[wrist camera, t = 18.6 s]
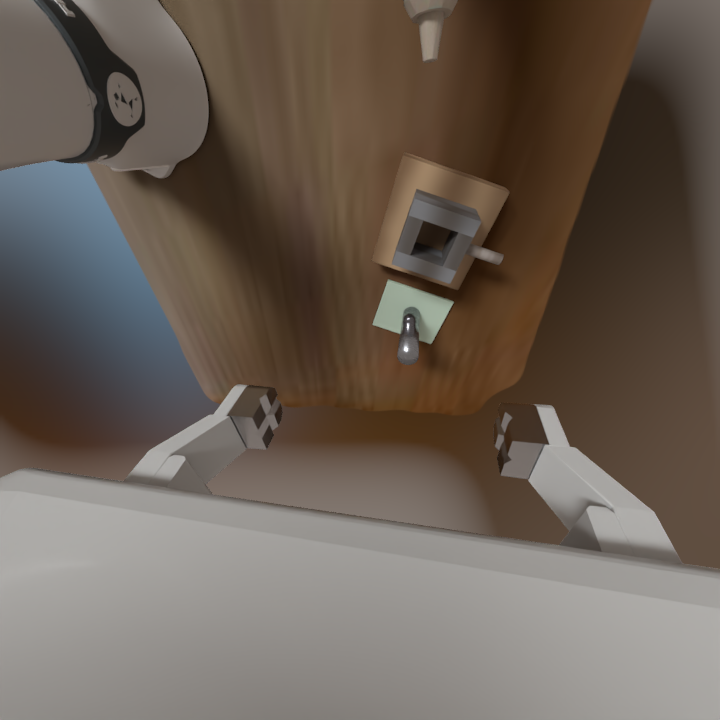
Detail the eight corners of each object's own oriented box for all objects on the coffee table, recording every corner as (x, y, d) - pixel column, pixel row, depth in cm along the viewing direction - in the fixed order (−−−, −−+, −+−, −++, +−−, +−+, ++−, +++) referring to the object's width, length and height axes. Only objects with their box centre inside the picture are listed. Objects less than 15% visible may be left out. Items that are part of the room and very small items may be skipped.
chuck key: (402, 291, 45) (396, 331, 37) (420, 291, 44) (418, 331, 36) (403, 335, 49) (398, 378, 41) (419, 335, 49) (417, 379, 41)
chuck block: (374, 252, 42) (364, 277, 36) (404, 152, 35) (398, 161, 29) (470, 285, 43) (476, 314, 37) (521, 192, 35) (540, 210, 29)
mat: (372, 323, 50) (372, 324, 49) (388, 279, 44) (387, 280, 44) (431, 342, 50) (431, 344, 50) (453, 301, 45) (453, 302, 44)
